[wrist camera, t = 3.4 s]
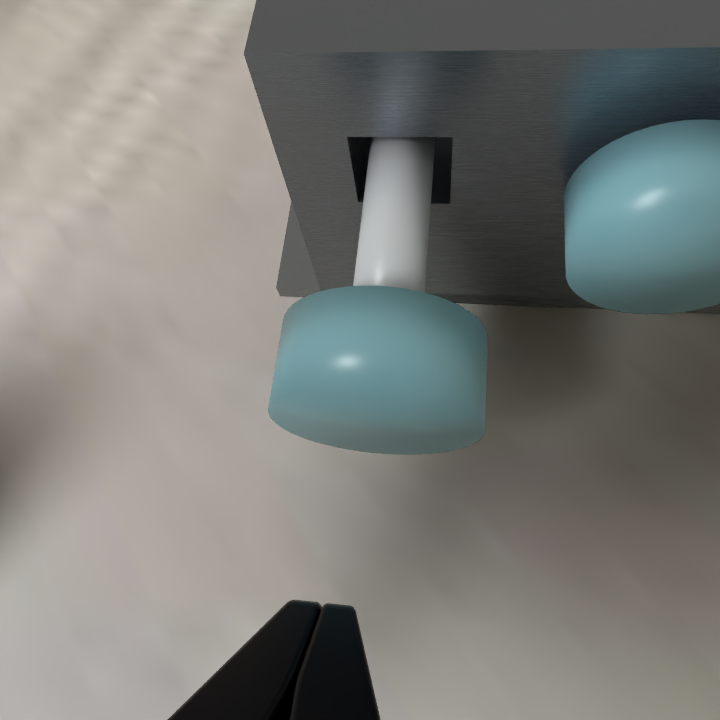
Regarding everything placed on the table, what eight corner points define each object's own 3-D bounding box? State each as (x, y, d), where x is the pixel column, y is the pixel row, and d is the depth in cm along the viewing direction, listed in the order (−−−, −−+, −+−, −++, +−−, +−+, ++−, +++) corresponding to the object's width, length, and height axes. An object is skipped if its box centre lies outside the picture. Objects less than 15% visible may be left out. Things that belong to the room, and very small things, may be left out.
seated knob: (736, 317, 15) (844, 205, 11) (550, 309, 16) (589, 200, 12) (702, 78, 18) (777, -78, 14) (546, 79, 19) (577, -70, 15)
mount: (744, 314, 20) (1006, 43, 11) (280, 296, 22) (172, 54, 13) (715, 118, 23) (899, -220, 14) (310, 118, 25) (241, -178, 16)
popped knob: (478, 460, 15) (494, 393, 11) (292, 447, 15) (242, 379, 11) (486, 186, 18) (501, 54, 14) (330, 184, 18) (302, 57, 14)
